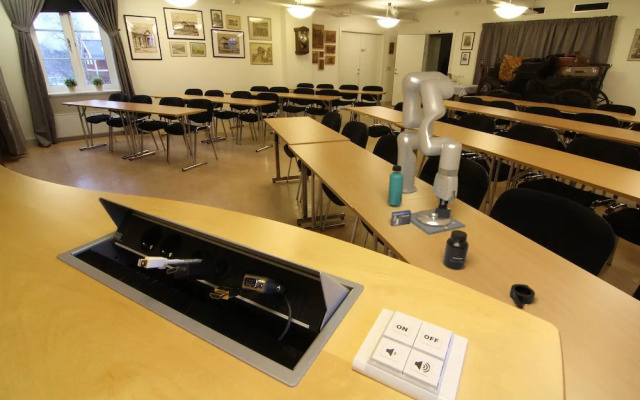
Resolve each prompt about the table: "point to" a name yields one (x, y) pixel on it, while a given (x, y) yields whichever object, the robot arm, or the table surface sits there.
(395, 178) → the beverage bottle
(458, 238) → the supplement bottle
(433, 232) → the dial plate
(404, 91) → the robot arm
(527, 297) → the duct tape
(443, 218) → the dial
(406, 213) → the mini dv tape
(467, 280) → the table surface
